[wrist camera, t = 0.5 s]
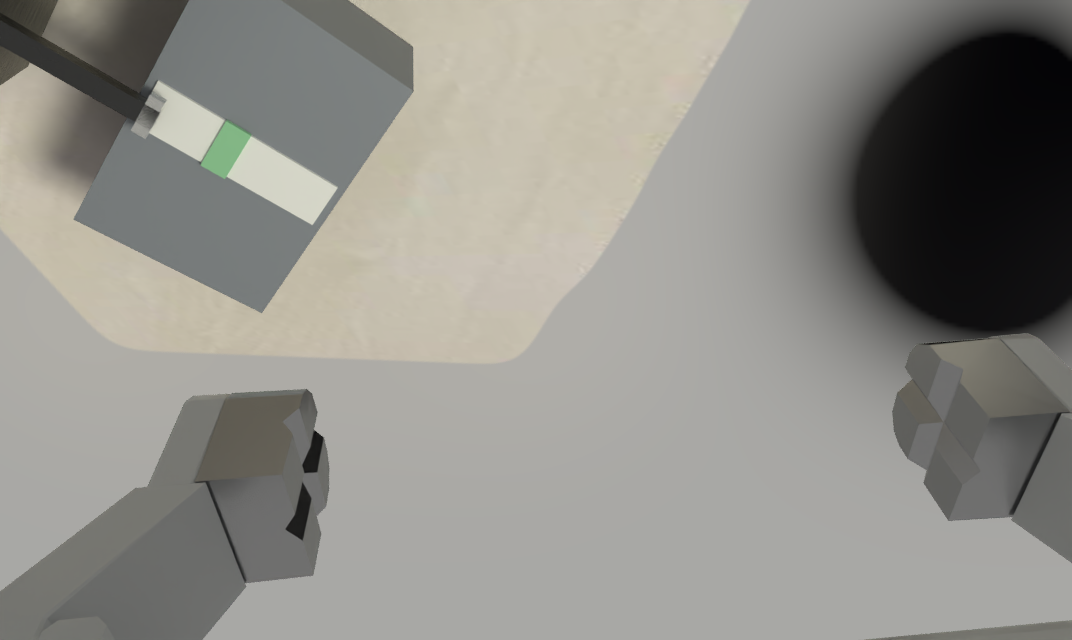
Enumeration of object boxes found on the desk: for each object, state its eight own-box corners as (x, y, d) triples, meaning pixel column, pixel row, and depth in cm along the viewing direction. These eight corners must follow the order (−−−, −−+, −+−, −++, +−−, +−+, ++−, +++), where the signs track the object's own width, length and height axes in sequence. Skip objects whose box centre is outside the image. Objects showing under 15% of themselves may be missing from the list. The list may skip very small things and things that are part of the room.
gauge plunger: (0, 51, 49) (-89, 104, 40) (76, -124, 45) (-5, -107, 36) (158, 140, 53) (109, 205, 44) (242, -12, 49) (205, 28, 40)
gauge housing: (124, 156, 55) (70, 222, 46) (247, -72, 48) (211, -46, 39) (282, 242, 60) (260, 316, 51) (413, 46, 53) (413, 93, 45)
